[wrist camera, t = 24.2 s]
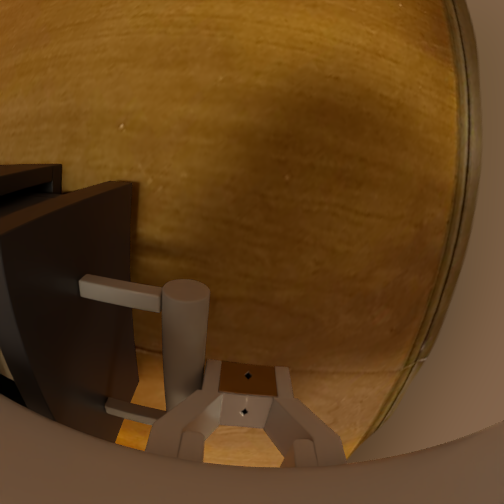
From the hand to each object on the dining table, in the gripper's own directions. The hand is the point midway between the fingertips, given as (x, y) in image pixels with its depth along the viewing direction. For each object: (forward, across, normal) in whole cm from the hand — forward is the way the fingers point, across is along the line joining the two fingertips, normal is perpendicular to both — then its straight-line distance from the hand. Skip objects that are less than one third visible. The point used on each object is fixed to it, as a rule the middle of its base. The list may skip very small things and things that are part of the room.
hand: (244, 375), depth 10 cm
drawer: (+4, +10, 0) cm, 11 cm away
